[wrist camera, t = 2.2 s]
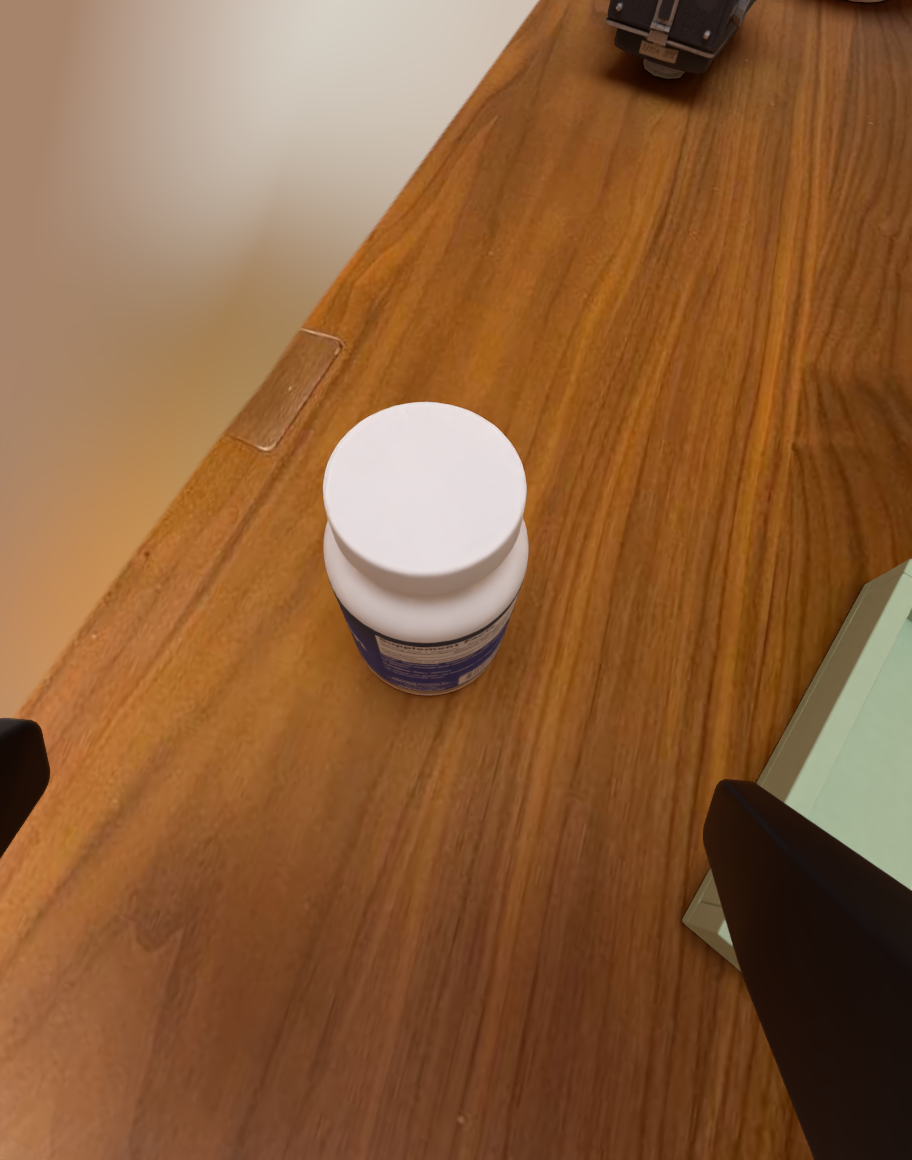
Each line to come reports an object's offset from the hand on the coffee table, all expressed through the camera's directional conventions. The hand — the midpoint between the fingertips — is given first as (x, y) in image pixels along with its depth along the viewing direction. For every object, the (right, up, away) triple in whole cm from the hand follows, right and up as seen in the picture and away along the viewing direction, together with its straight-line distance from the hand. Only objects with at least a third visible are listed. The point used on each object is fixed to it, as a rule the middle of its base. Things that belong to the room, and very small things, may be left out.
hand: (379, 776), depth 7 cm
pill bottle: (0, +1, +14) cm, 14 cm away
